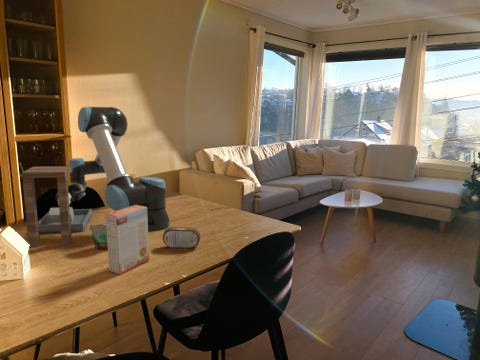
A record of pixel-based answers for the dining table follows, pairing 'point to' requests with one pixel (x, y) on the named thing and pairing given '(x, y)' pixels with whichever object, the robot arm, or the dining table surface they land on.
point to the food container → (99, 236)
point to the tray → (77, 225)
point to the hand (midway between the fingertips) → (63, 202)
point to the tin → (181, 237)
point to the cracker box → (127, 238)
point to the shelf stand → (30, 200)
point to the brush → (55, 214)
